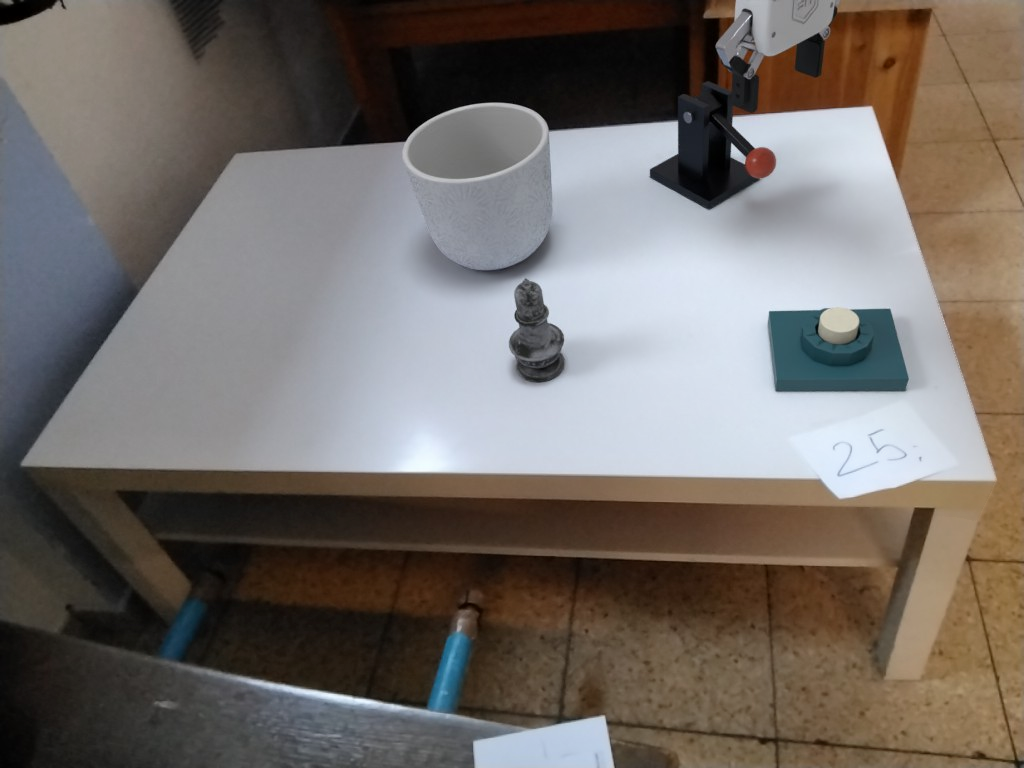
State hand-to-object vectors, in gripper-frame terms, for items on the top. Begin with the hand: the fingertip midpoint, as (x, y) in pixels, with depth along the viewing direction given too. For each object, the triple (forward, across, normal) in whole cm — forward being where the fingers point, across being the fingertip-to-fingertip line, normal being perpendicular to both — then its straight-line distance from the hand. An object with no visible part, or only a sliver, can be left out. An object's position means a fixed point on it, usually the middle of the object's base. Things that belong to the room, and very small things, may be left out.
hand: (776, 90), depth 90 cm
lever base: (+16, 0, +11) cm, 20 cm away
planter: (+16, -28, +19) cm, 37 cm away
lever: (+10, 0, +7) cm, 12 cm away
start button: (+13, -13, -21) cm, 28 cm away
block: (+16, -13, -21) cm, 30 cm away
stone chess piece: (+16, -36, -1) cm, 39 cm away
